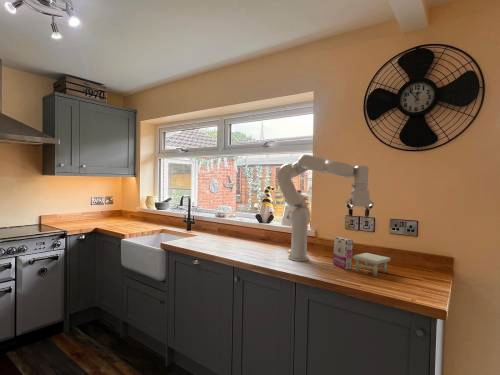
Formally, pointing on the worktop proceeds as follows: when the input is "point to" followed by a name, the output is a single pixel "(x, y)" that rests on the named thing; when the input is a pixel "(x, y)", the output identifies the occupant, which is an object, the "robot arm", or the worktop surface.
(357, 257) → the step stool
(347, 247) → the candy bar box
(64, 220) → the worktop surface
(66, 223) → the worktop surface
